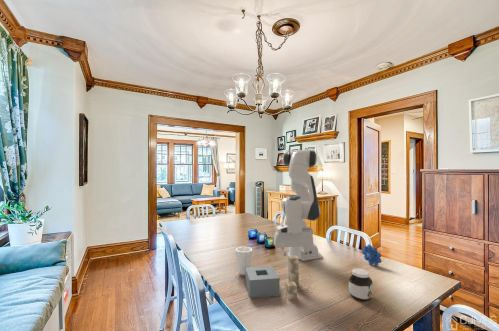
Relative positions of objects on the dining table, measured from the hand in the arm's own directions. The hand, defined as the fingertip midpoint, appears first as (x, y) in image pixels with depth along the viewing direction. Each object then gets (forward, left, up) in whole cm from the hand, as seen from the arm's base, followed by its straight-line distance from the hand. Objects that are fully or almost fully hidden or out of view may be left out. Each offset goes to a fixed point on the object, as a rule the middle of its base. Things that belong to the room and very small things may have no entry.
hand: (293, 255), depth 120 cm
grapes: (-55, -16, -15) cm, 60 cm away
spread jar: (-27, +14, -15) cm, 34 cm away
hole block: (+17, +2, -15) cm, 22 cm away
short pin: (+5, +11, -15) cm, 19 cm away
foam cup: (+23, -18, -15) cm, 33 cm away
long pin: (0, 0, -15) cm, 15 cm away
